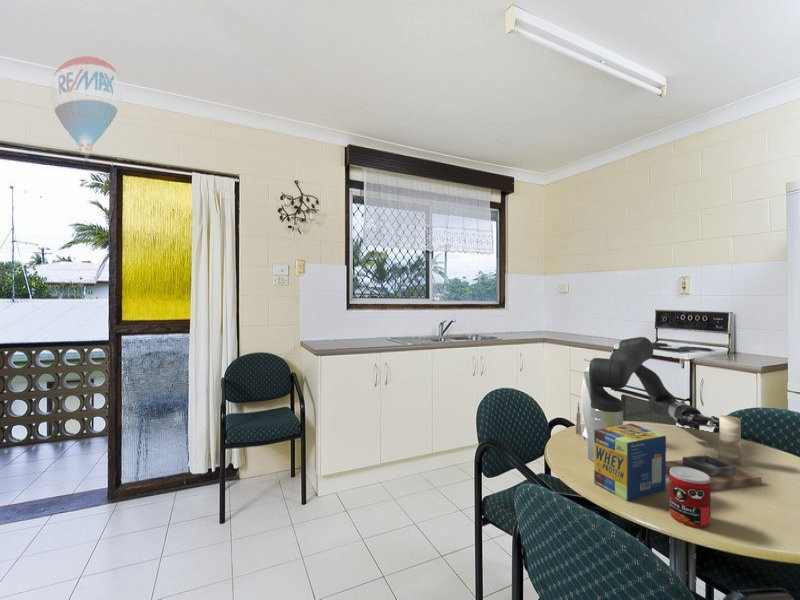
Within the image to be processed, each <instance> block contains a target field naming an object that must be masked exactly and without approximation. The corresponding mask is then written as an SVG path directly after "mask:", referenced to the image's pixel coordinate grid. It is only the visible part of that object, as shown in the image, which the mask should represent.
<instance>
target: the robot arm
mask: <svg viewBox="0 0 800 600" xmlns="http://www.w3.org/2000/svg"><path fill="white" fill-rule="evenodd" d="M653 354H654V346H653V343H652V342H651V340H650V339H649V338H648V337H645V336H638V337H637V336H636V337H631V338H626V339H622V340H620V341H619V344H618V348H617V349H615V350H614V351H613V352H612V353H611V354H610V357H609V358H603V357H602V358H601V357H593V358H591V360H590V362H589V380H590V400H591V429H589V430H588V440H587V458H588V459H589V460H591V461H592V462H594V430H598V429H604V428H609V427H615V426H621V425H624V402H623V401H622V399H620V398H618V397H616V396H614V395H612V394H610V392H608V391H607V390H605V388H608V389H616V390H618V389H620V390H621V389H623V388H625V387H626V386H627V385H628V383H629V381H630V378H631V377H632V375H633V374H635V376H636V377H637V378H638V380H639V381H640V382H641V384H642V386H643V388H644V390H645V392H646V394H647V395H648V396H649V397H651V398H649V399H648V401H647V407H648V408H649V410H651V411H652V412H653V413H655V414H657V415H660V416H665V417H671V418H673V421H674V423H676V424H678V425H680V426H681V427H688V428H693V429H694V430H696V431H700V427H706V428H710V429H711V428H717V429H718V430H719V417H717V416H714V415H712V416H706V415H704V414H702V413H701V411H700V410H699V409H698V408H696V407H693V406H691V405H689V404H687V403H684V402H681V401H679V400H677V399H676V397H675V396H674V395H673V394H672V393H671V392H670V391H669V390H668V389H667V388H666V387H665V385H664V383H663V382H662V380H661V378H660V376H659V375H658V374H657V373H656V372H655V371H653V370H652V369H650V368H648V367H647V366H645V365H643V364H644V362H646V361H648V360H650V359H651V358H652V357H653ZM708 423H709V424H708Z"/></svg>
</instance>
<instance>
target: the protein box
mask: <svg viewBox="0 0 800 600" xmlns="http://www.w3.org/2000/svg"><path fill="white" fill-rule="evenodd" d="M666 447H667V436H666V435H665V434H662V433H659V432H656V431H654V430H650V429H648V428H645V427H643V426H639V425H636V424H633V423H628V424H623V425H621V426H615V427H609V428H604V429H598V430H594V461H593V464H594V467H593V468H594V470H593V471H594V473H593V474H594V477H593V478H594V481H593V482H594V484H595V485H597V486H599V487H600V488H603V490H606V491H608V492H609V493H611V494H613V495H615V496H616V497H619V498H620V499H622V500H624V501H625V502H629V501H632V499H633V500H636V499H639V498H643V497H644V498H645V497H647V495H648V496H650V495H654V494H659V493H663V492H665V491H666V490H667V489H666V487H667V486H666V483H667V482H666V478H667V477H666V475H667V472H666V461H667V456H666V455H667V454H666V453H667V451H666V449H667V448H666Z"/></svg>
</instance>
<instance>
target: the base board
mask: <svg viewBox="0 0 800 600" xmlns="http://www.w3.org/2000/svg"><path fill="white" fill-rule="evenodd" d="M672 467H687V468H692V469H696V470H699V471H701V472H704V473H705V474H707V475H708V476H709V477H710V484H711V491H717V490H724V489H732V488H733V489H734V488H742V487H746V486H748V487H750V486H757V485H762V482H763V481H762V480H763V478H762V477H763V476H760V475H758V474H755V473H753V472H750V471H747V469H746V470H745V469H743V468H740V467H738V466H736V465H734V464H729V463H726V462H724V461H721V460H720V459H719V458H716V457H714V456H710V455H708V454H700V455H692V456H691V455H690V456H683V457H682V459H678V460H668V461H667V460H666V474H669V471H670V468H672Z"/></svg>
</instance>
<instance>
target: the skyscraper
mask: <svg viewBox="0 0 800 600" xmlns="http://www.w3.org/2000/svg"><path fill="white" fill-rule="evenodd" d="M589 366H590V365H589ZM589 366H587V368H586V369H583V370H582V375H583V381H582V385H581V391H580V394H581V395H580V402H579V401H578V402H577V413H576V426H575V429H576V431H575V435H577V436H578V435H579V436H578V437H580V438H581V437H582V439H583V440H584V438H585V437H586V438H585V440H584V441H588V430H589V429H591V400H590V380H589ZM580 405H581V410H580ZM580 411H581V412H582V413H581V412H580ZM581 415H582V418H583V425H584V426H583V429H581V428H582V424H581ZM586 439H587V440H586Z"/></svg>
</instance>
